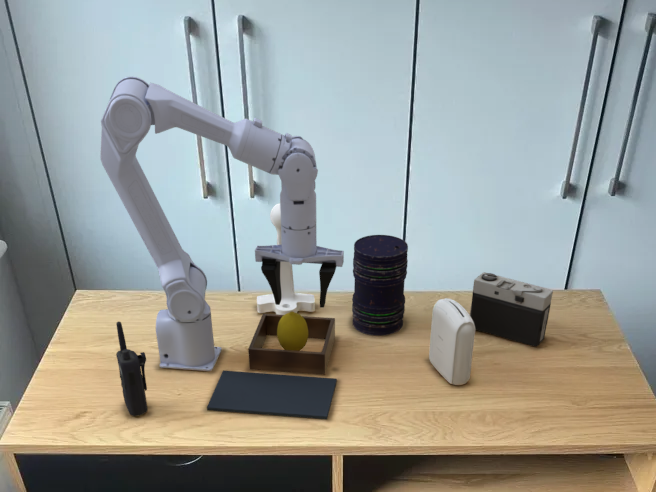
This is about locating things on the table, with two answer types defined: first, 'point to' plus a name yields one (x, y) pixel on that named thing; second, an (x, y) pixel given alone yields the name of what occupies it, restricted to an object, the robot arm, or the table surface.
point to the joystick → (284, 283)
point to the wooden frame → (291, 358)
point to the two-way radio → (132, 376)
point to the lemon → (292, 332)
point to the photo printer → (452, 341)
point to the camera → (510, 308)
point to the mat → (273, 394)
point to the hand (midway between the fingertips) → (300, 303)
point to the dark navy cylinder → (379, 284)
